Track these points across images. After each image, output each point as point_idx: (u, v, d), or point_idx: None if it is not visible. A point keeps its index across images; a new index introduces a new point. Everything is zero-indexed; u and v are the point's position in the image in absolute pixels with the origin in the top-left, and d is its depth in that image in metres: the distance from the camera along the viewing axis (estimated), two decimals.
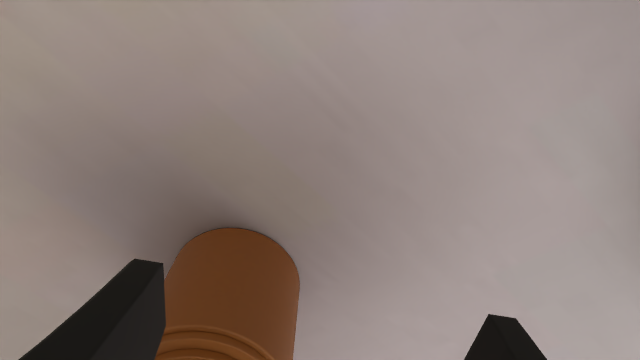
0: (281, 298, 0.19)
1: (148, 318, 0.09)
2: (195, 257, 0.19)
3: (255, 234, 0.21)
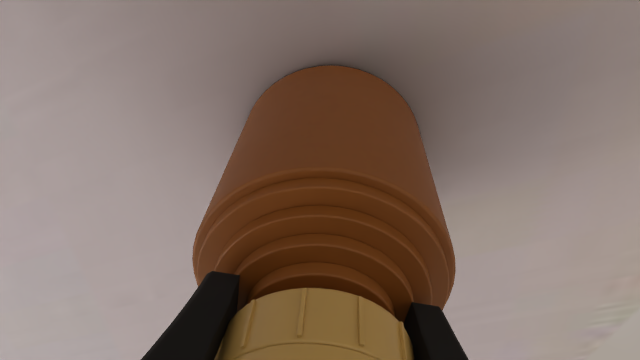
0: None
1: None
2: None
3: None
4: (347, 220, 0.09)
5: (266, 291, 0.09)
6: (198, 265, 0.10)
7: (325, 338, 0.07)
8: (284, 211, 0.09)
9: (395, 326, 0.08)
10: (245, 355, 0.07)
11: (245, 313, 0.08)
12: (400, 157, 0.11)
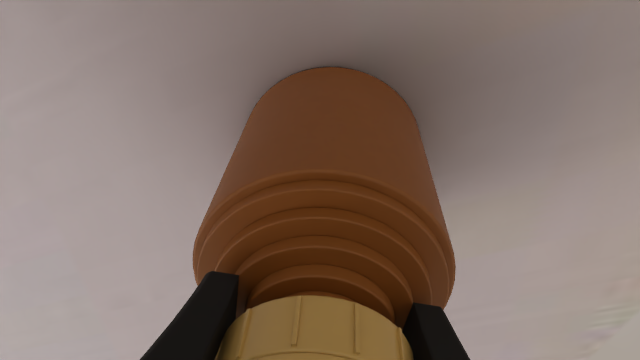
0: None
1: None
2: None
3: None
4: (339, 221, 0.09)
5: (262, 295, 0.09)
6: (198, 273, 0.11)
7: None
8: (277, 215, 0.09)
9: None
10: None
11: None
12: (393, 154, 0.11)
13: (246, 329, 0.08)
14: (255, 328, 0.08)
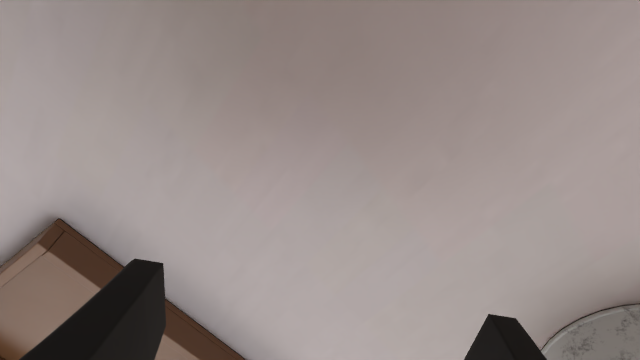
0: None
1: (148, 318, 0.09)
2: None
3: None
4: None
5: None
6: None
7: None
8: None
9: None
10: None
11: None
12: None
13: None
14: None
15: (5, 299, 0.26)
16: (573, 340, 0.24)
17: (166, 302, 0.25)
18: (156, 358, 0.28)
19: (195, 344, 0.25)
